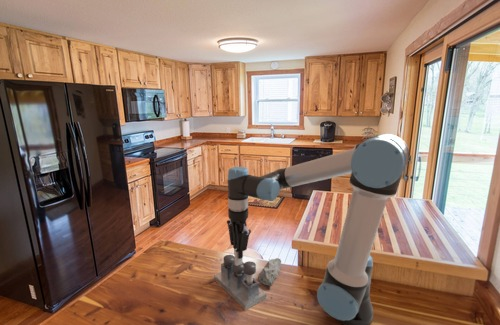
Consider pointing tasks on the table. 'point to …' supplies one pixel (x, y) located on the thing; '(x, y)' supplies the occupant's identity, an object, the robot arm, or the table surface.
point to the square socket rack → (240, 287)
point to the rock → (270, 271)
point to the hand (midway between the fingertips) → (238, 264)
